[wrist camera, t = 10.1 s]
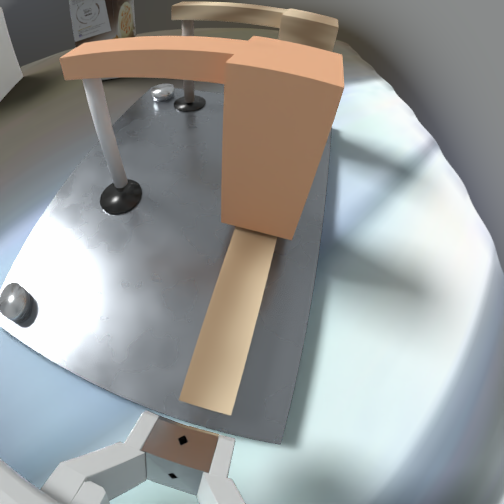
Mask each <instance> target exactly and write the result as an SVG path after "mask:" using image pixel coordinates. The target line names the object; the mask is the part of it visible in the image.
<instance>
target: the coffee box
mask: <svg viewBox="0 0 504 504" xmlns="http://www.w3.org/2000/svg"><path fill="white" fill-rule="evenodd" d="M69 4H70V13H71V21H72V27H73V34H74V40H75V45H76V47H78V46H80V45H81V44H83V43H87V42H93V41H100V40H109V39H118V38H130V37H136V30H135V18H134V0H69ZM114 78H119V77H112V78H101V80H108V79H114Z"/></svg>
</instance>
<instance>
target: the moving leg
mask: <svg viewBox="0 0 504 504" xmlns="http://www.w3.org/2000/svg"><path fill="white" fill-rule="evenodd" d="M60 62H61V66H62V70H63V74H64V78H65V80H75V79H82V80H83V84H84V88H85V92H86V96H87V100H88V103H89V107H90V111H91V114H92V118H93V121H94V125H95V128H96V131H97V135H98V138H99V141H100V144H101V147H102V150H103V153H104V157H105V160H106V162H107V165H108V168H109V171H110V174H111V177H112V180H113V182H114V185H115V187H116V188H123V187H125V186H126V185H127V183H128V180H127V177H126V173H125V170H124V167H123V163H122V160H121V156H120V153H119V149H118V146H117V142H116V139H115V135H114V131H113V127H112V123H111V119H110V115H109V111H108V107H107V103H106V98H105V94H104V90H103V85H102V80H101V78H112V77H143V78H168V79H182V80H193V81H203V82H212V83H220V84H224V107H223V137H222V179H221V222H222V223H226V224H230V225H234V226H238V227H241V228H245V229H249V230H253V231H257V232H261V233H265V234H269V235H273V236H277V237H280V238H284V239H288V240H292V238H293V236H294V233H295V230H296V227H297V225H298V222H299V219H300V216H301V214H302V211H303V208H304V205H305V203H306V200H307V197H308V194H309V191H310V188H311V186H312V183H313V180H314V177H315V174H316V171H317V168H318V165H319V163H320V160H321V157H322V154H323V151H324V148H325V145H326V142H327V139H328V136H329V133H330V130H331V127H332V124H333V121H334V118H335V115H336V112H337V108H338V105H339V102H340V99H341V96H342V93H343V90H344V76H343V60H342V55H341V54H337V53H334V52H330V51H326V50H323V49H319V48H315V47H311V46H306V45H302V44H297V43H293V42H288V41H282V40H277V39H271V38H265V37H258V36H253V37H252V38H251V39H250V40H249V41H244V40H236V39H226V38H214V37H197V36H146V37H130V38H118V39H109V40H100V41H93V42H87V43H83V44H81V45H80V46H78V47H76V48H75V49H73V50H72V51H70V52H68V53H67V54H65V55H64V56H62V57H61V58H60Z"/></svg>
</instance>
